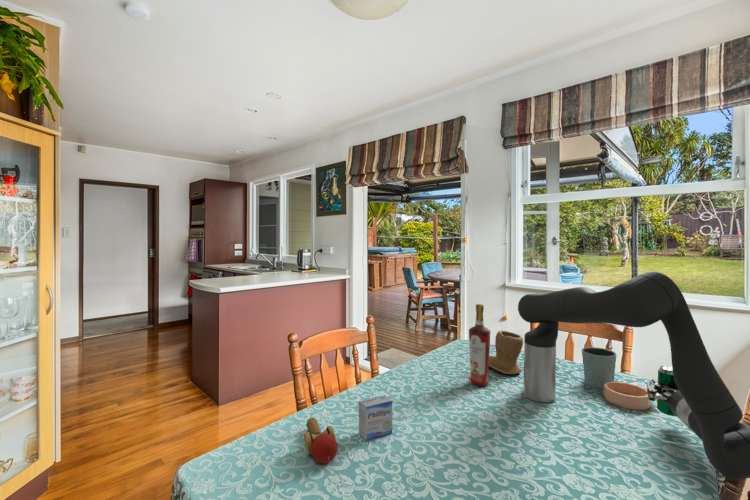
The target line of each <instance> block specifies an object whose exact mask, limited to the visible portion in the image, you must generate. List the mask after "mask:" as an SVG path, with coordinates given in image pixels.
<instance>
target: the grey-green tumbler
mask: <svg viewBox="0 0 750 500" xmlns="http://www.w3.org/2000/svg"><path fill="white" fill-rule="evenodd" d="M581 355H582V364H583V379H584V384H586V386H590V387H592V388H595V389H597V390H598V389H599V390H604V384H605V383H606V382H614V381H615V373H616V372H615V371H616V362H617V356H618V355H617V353H616V352H615V351H614V350H611V349H607V348H601V347H595V346H593V347H591V346H589V347H583V348H581Z"/></svg>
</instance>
